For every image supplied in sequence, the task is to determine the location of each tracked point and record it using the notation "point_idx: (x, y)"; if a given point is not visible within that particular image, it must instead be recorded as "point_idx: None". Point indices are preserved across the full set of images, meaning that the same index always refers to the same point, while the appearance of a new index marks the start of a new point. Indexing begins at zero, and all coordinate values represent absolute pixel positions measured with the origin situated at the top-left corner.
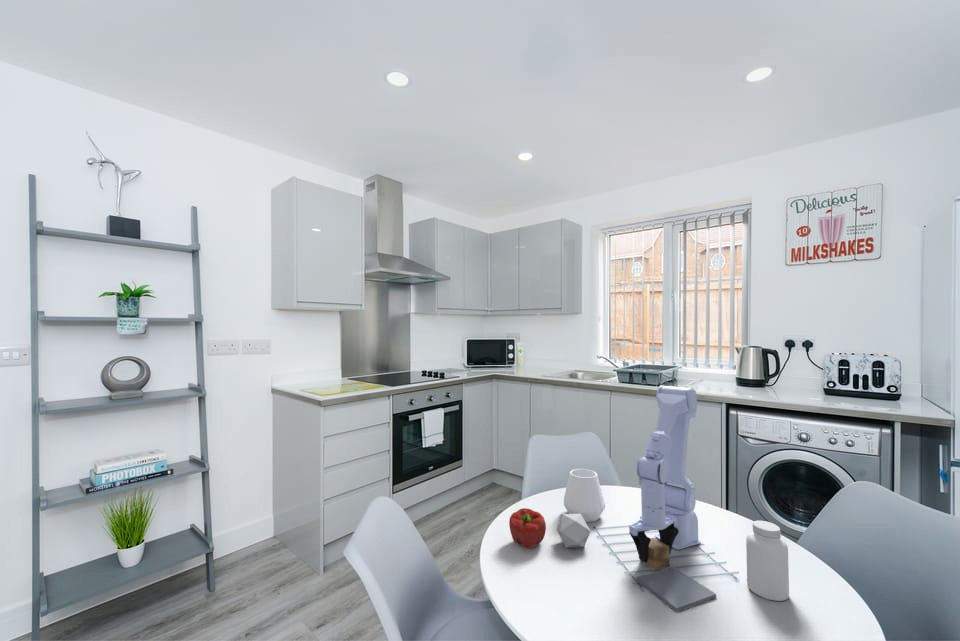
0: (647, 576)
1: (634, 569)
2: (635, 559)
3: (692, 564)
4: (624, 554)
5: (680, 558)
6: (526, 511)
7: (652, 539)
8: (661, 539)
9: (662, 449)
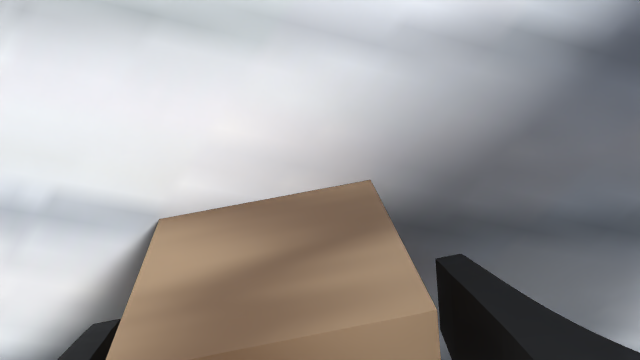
0: None
1: (13, 345)
2: (111, 196)
3: None
4: (15, 69)
5: (581, 264)
6: None
7: (361, 357)
8: (509, 357)
9: None
